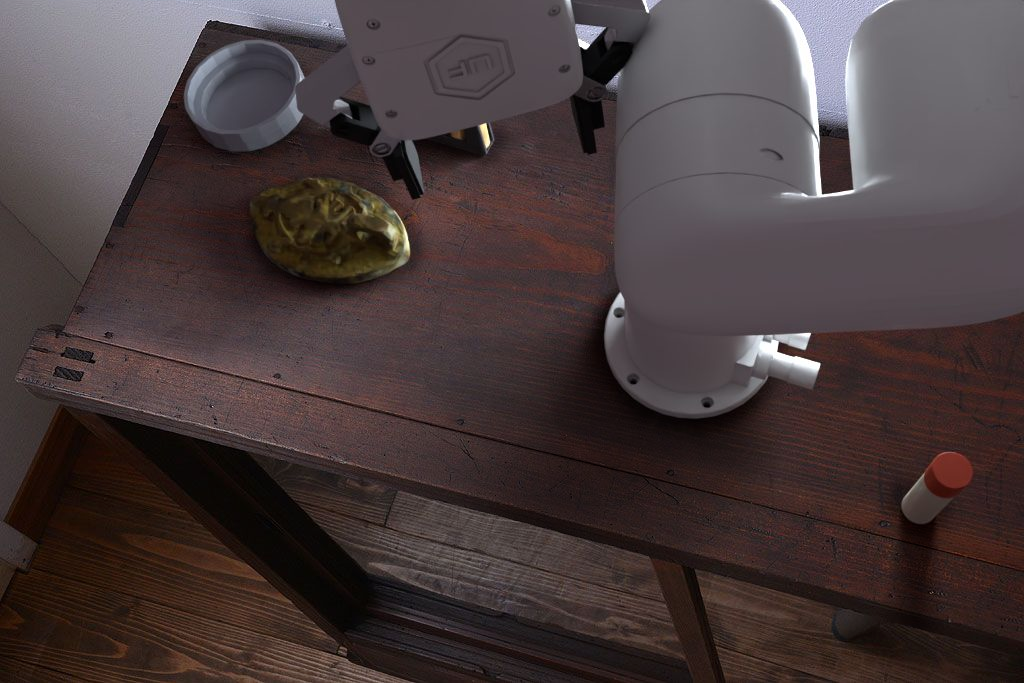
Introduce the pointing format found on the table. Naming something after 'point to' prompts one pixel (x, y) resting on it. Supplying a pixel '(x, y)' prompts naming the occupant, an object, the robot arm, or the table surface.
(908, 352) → the table surface
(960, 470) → the red-capped cylinder
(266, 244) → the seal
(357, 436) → the table surface
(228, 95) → the dish
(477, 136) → the ammunition clip
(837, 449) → the table surface
